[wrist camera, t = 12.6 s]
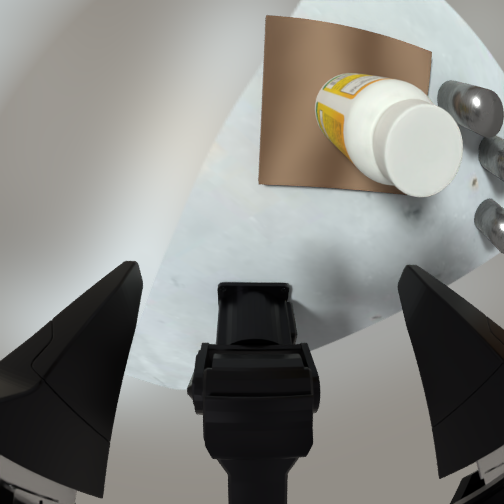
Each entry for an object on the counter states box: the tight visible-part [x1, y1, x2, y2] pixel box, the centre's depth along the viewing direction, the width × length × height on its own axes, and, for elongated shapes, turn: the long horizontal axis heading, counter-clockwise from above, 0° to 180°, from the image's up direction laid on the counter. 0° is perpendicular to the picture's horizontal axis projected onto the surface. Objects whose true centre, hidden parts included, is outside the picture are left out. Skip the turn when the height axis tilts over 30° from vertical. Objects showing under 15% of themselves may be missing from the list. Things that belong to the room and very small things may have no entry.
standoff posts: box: [437, 80, 504, 253], centre depth 17 cm, size 6×17×4 cm, turn 39°
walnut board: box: [258, 15, 432, 195], centre depth 17 cm, size 12×12×1 cm
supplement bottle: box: [315, 73, 463, 197], centre depth 13 cm, size 5×5×10 cm
